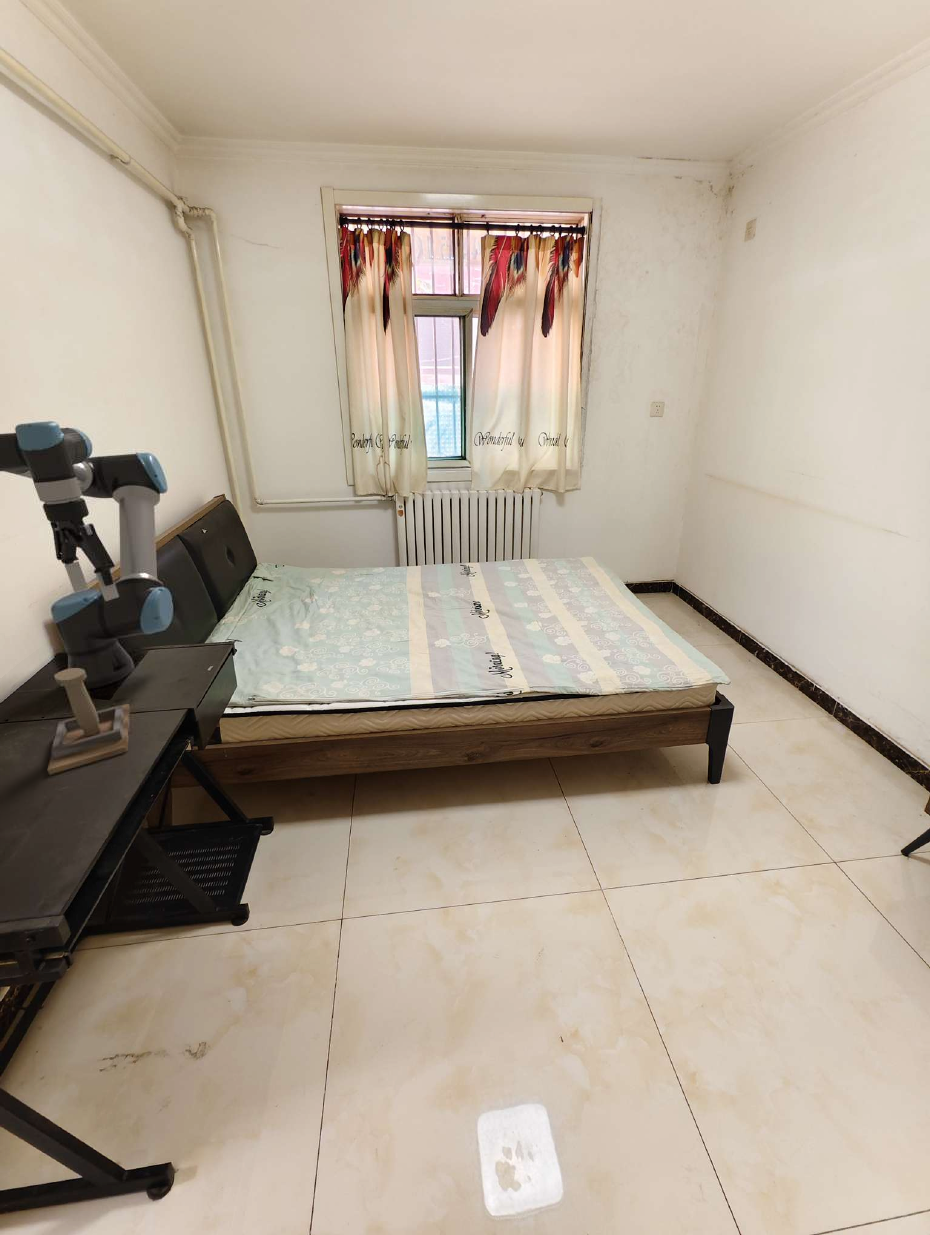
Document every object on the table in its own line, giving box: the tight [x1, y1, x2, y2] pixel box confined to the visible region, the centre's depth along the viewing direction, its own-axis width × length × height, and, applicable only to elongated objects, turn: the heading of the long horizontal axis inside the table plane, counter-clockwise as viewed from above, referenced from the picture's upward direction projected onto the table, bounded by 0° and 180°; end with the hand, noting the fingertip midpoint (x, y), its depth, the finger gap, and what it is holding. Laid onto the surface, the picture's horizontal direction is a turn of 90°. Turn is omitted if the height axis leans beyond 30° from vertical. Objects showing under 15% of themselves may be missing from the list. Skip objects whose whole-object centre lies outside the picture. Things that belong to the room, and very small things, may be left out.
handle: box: [54, 668, 100, 736], centre depth 121 cm, size 5×6×15 cm
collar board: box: [47, 703, 131, 776], centre depth 123 cm, size 20×14×3 cm
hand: (96, 594), depth 125 cm, fingers open, 13 cm apart
